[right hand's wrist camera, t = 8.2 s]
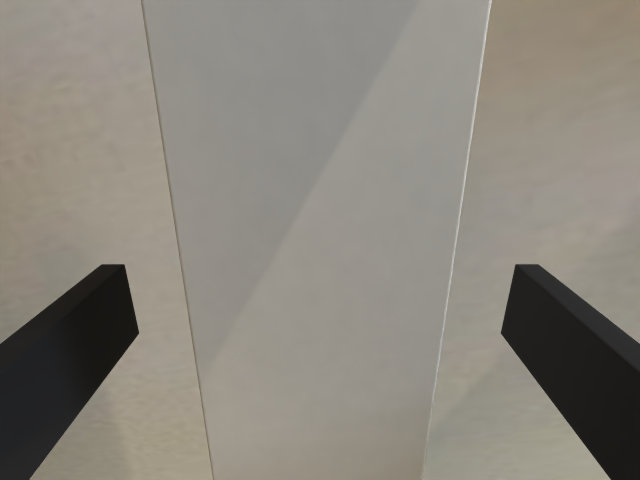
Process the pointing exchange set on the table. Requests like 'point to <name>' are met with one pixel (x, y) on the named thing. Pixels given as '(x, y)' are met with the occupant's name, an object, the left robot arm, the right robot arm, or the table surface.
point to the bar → (316, 219)
